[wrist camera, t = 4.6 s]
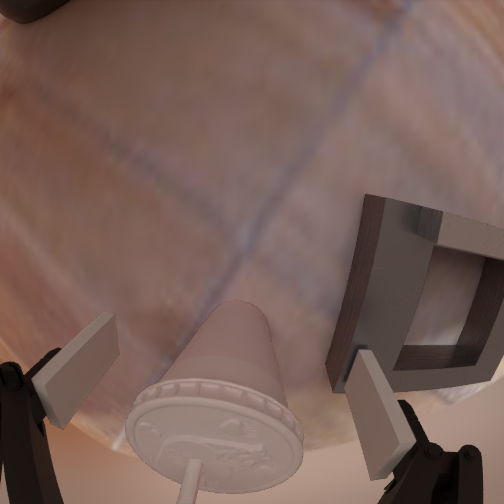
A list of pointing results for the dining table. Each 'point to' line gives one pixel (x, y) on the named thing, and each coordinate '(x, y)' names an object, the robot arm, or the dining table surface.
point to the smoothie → (220, 411)
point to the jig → (416, 299)
